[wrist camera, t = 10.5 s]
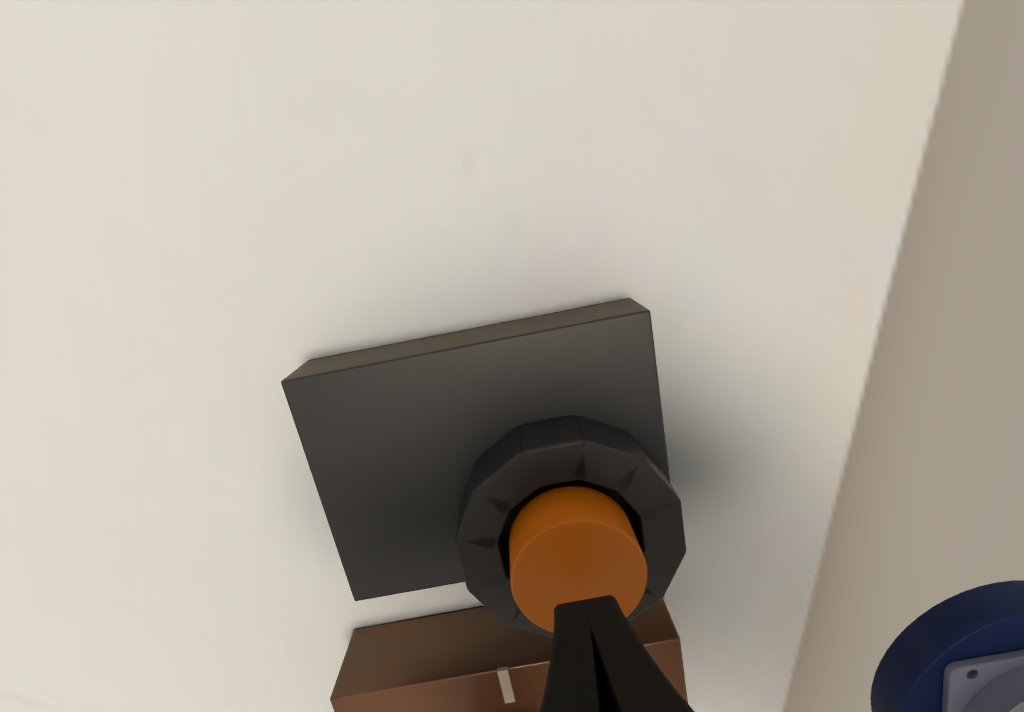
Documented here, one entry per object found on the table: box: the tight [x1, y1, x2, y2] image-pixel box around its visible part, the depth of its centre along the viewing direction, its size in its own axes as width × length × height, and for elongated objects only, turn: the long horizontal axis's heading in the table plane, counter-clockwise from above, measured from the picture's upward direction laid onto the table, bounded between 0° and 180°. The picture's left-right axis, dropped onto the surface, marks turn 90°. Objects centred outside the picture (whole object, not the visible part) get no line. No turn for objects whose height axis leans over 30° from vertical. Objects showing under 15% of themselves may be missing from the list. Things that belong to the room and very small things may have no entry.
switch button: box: [509, 486, 647, 633], centre depth 14 cm, size 4×4×2 cm
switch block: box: [281, 298, 686, 638], centre depth 16 cm, size 11×9×4 cm
